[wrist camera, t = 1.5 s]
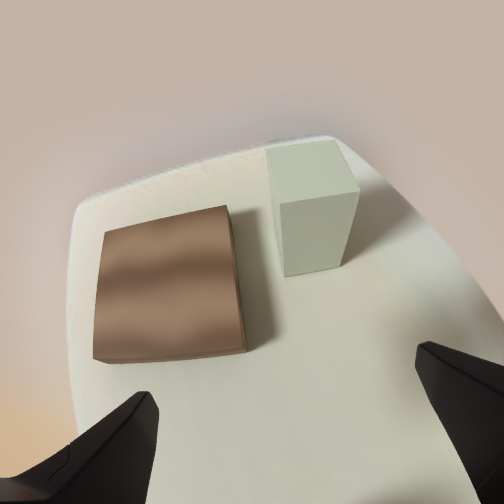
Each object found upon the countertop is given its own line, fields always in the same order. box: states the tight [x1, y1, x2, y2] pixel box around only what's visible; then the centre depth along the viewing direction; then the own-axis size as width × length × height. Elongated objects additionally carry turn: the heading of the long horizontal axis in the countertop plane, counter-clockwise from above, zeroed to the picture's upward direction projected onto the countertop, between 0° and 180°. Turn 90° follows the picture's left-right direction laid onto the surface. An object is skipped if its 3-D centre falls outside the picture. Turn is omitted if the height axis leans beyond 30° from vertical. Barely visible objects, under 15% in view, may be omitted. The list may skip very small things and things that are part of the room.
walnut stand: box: [93, 205, 247, 364], centre depth 24 cm, size 13×13×2 cm
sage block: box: [265, 140, 361, 277], centre depth 22 cm, size 5×5×10 cm
